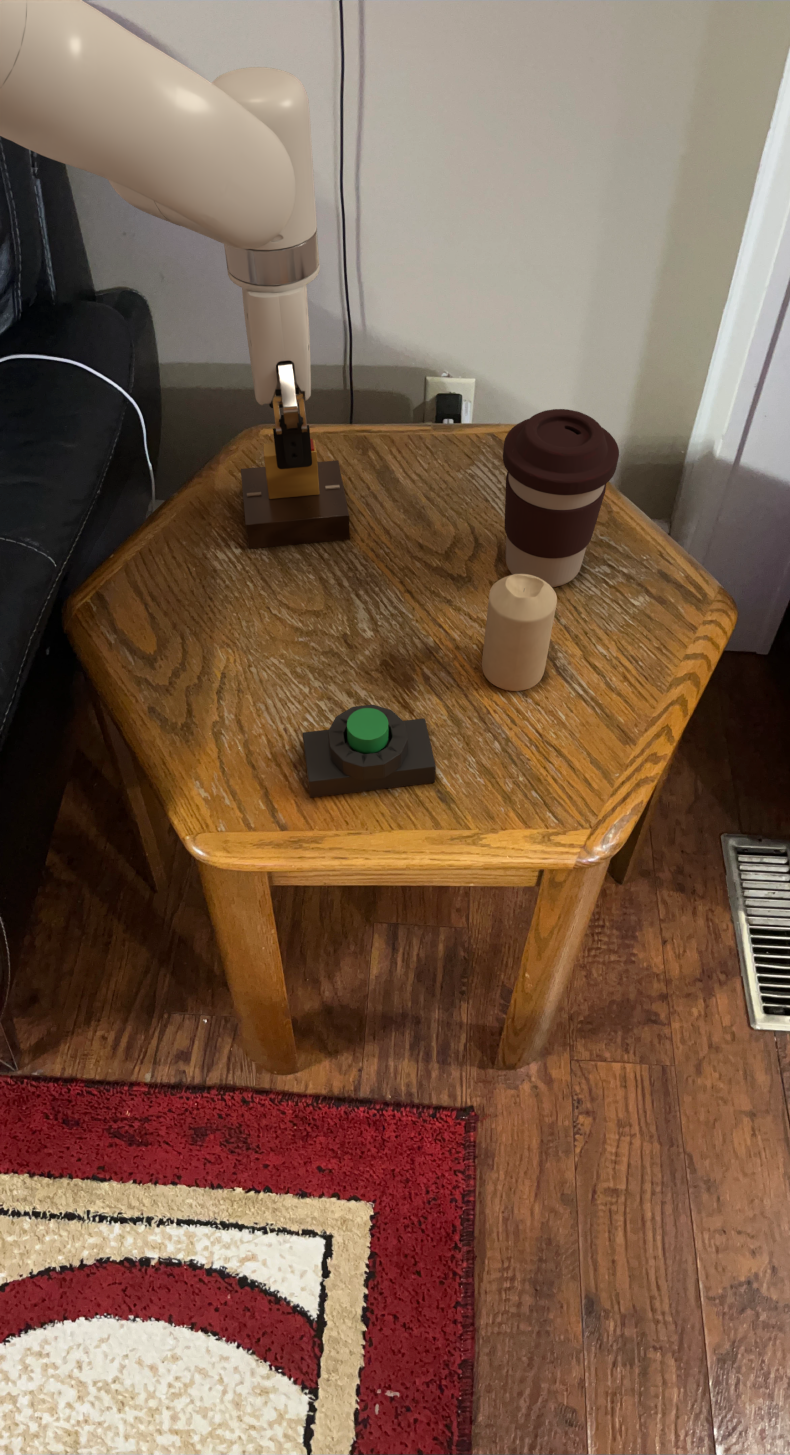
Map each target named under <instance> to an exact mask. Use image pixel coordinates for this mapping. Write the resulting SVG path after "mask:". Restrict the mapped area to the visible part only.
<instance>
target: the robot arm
mask: <svg viewBox="0 0 790 1455" xmlns="http://www.w3.org/2000/svg"><path fill="white" fill-rule="evenodd" d="M308 96H309V95H308V92H307V91H306V88H305V86H304V84H303V83H302V81H301V80H300V79H299V78H298V77H296V76H295V75H294V74H292V73H290V72H288V71H287V70H283V69H278V68H273V67H267V66H250V67H242V68H237V69H233V70H230V71H228V72H225V73H222V74H220V75H219V76H217V77H216V78H215V79H214V80H213V81H212V82H210V81H209V80H208V79H207V78H205V77H203V76H202V75H200V74H198V72H196V71H194V70H193V69H191V68H190V67H187V65H184V63H181V62H180V61H178V60H176V59H175V58H173V57H171V56H170V55H168V54H167V53H165V52H164V51H162V50H160V49H159V48H158V47H156V46H154V45H152V44H150V43H149V42H147V41H145V39H143V38H140V37H139V36H138V35H136V34H134V33H133V32H131V31H130V30H128V29H127V28H125V27H124V26H122V25H121V24H119V23H118V22H116V21H115V20H113V19H112V18H111V17H109V16H108V15H107V14H105V13H103V12H101V11H100V10H98V9H97V8H95V7H94V6H92V5H90V4H89V3H87V2H85V1H84V0H0V137H1V138H3V139H6V140H8V141H11V142H12V143H15V144H16V145H18V146H21V147H23V148H25V149H27V150H28V151H29V150H30V151H32V152H34V153H36V154H38V155H40V156H42V157H45V158H48V159H50V160H52V161H56V162H59V163H61V164H64V165H68V166H71V167H74V168H76V169H79V170H82V171H85V172H87V173H90V174H93V175H96V176H98V177H100V178H104V179H105V180H107V181H108V182H109V184H110V186H111V187H112V189H113V190H114V191H115V193H117V194H118V196H119V197H120V198H122V199H123V200H124V201H125V202H126V203H128V204H129V205H130V206H132V207H134V208H136V209H138V210H139V211H141V212H143V213H146V214H149V215H150V216H153V217H155V218H158V219H160V220H163V221H166V222H168V223H171V224H173V225H176V226H179V227H182V228H184V229H185V228H186V229H188V230H190V231H192V232H195V233H197V234H199V235H202V236H204V237H207V238H209V239H212V240H214V241H216V242H218V243H221V244H223V247H224V254H225V262H226V270H227V275H228V279H229V280H230V281H231V282H232V283H233V284H234V285H236V286H238V287H239V288H241V293H242V294H241V296H242V306H243V315H244V323H245V331H246V332H245V333H246V339H247V346H248V354H249V361H250V368H251V369H250V370H251V378H252V384H253V391H254V397H255V398H254V399H255V401H256V402H257V403H258V405H260V406H264V405H269V406H268V407H270V408H271V409H273V417H274V426H275V428H272V434H273V440H274V443H275V452H276V461H277V467H278V468H279V469H290V468H300V467H309V466H311V465H312V453H311V441H310V439H311V431H310V430H311V429H310V428H311V427H310V424H308V423H307V422H308V421H307V413H306V404H305V402H307V401H308V400H309V399H310V398H311V396H312V370H311V369H312V366H311V364H312V363H311V336H310V335H311V334H310V321H309V320H310V319H309V304H308V301H309V300H308V289H307V288H308V287H307V285H309V284H310V283H311V282H313V281H314V280H315V279H316V278H317V277H318V275H319V273H320V270H321V268H320V255H319V254H320V253H319V239H318V238H319V237H318V235H319V234H318V224H317V223H318V222H317V207H316V191H315V175H314V160H313V159H314V158H313V144H312V143H313V142H312V141H313V140H312V127H311V124H312V123H311V110H310V101H309V97H308ZM280 409H282V414H281V412H280V411H281V410H280Z"/></svg>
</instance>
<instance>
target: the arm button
mask: <svg viewBox="0 0 790 1455" xmlns="http://www.w3.org/2000/svg"><path fill="white" fill-rule="evenodd" d="M347 738H348V743H349V745H350V746H351V747H352V748H353V749H354V750H356V751H357V752H360V753H365V754H371V753H375V752H378V751H380V750H381V749H383V748H384V747H385V746H386V744H387V742H388V719H387V717H386V716H385V715H384V714H383V713H382V712H381V711H379V710H377V709H373V708H363V709H359V710H357V711H355V712H353V713H352V714H351V715H350V716H349V718H348V720H347Z"/></svg>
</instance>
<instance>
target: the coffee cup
mask: <svg viewBox="0 0 790 1455" xmlns="http://www.w3.org/2000/svg"><path fill="white" fill-rule="evenodd" d="M619 457H620V449H619V445H618V443H617V440H616V439H615V438H614V436H613V435H612V434H611V432H609V431H608V430H606V429H605V428H604V427H602V426H601V425H600V423H599V422H598V421H596V420H595V418H593V417H591V416H590V415H587V414H586V413H583V412H582V411H581V412H580V411H578V410H574V409H573V410H572V409H566V408H553V409H547V410H543V411H540V412H538V413H537V412H536V413H535V414H533V415H532V416H530V417H529V418H527V419H524V420H522V421H520V422H519V423H517V424H515V425H514V426H513V427H512V428H511V429H510V430H509V431H508V432H507V434H506V436H505V437H504V440H503V448H502V462H503V465H504V468H505V469H506V471H507V472H506V478H505V494H504V496H505V497H504V500H505V501H504V503H505V504H504V532H505V536H506V538H505V563H506V567H507V569H508V571H509V572H510V573H511V575H513V574H528V575H533V576H536V577H538V578H540V579H542V580H544V581H545V582H547V583H548V584H549V585H550V586H551V587H552V588H556V587H561V586H564V585H566V584H568V583H569V582H571V581H573V579H575V578H576V576H577V575H578V574H579V572H580V570H581V568H582V565H583V560H584V557H585V554H586V551H587V548H588V545H589V544H590V542H591V540H592V538H593V535H594V531H595V529H596V524H597V521H598V518H599V514H600V512H601V508H602V504H603V502H604V498H605V494H606V490H607V484H608V483H609V482H610V481H611V480H612V478H613V477H614V475H615V473H616V471H617V467H618V462H619Z"/></svg>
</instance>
